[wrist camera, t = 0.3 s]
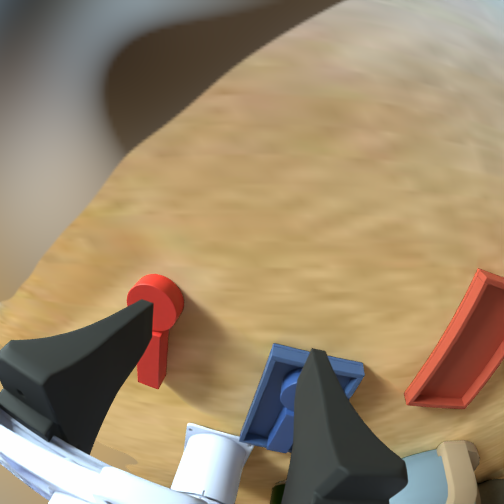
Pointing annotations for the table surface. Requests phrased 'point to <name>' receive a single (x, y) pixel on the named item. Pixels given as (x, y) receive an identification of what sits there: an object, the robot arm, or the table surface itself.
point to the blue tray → (269, 390)
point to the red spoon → (157, 324)
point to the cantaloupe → (492, 491)
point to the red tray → (464, 349)
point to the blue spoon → (284, 415)
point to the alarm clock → (442, 476)
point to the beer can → (277, 492)
